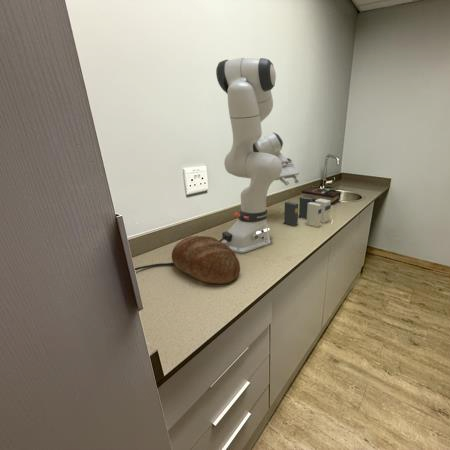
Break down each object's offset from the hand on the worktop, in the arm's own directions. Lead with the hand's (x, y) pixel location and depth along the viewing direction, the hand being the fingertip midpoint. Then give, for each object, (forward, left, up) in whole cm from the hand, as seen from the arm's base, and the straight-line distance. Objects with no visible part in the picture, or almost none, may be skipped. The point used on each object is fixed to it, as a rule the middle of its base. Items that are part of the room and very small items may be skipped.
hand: (292, 183), depth 133 cm
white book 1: (+1, -14, -21) cm, 25 cm away
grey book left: (-7, -4, -21) cm, 22 cm away
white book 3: (+12, -14, -21) cm, 28 cm away
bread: (-64, -8, -21) cm, 67 cm away
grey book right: (+8, -4, -21) cm, 23 cm away
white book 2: (+9, -14, -21) cm, 27 cm away
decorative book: (+51, +9, -21) cm, 56 cm away
